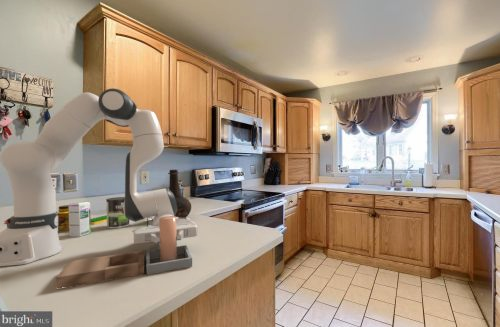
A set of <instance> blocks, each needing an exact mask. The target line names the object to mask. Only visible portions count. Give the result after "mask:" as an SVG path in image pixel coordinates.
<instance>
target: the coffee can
mask: <svg viewBox="0 0 500 327" xmlns="http://www.w3.org/2000/svg"><path fill="white" fill-rule="evenodd" d="M105 200H106V215H107V222H106V229H123V228H126V227H129V226H130V220H129V219H127V218H126V216H125V214H124V210H123V206H124V200H125V196H117V197H116V196H115V197H110V198H106V199H105Z"/></svg>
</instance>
